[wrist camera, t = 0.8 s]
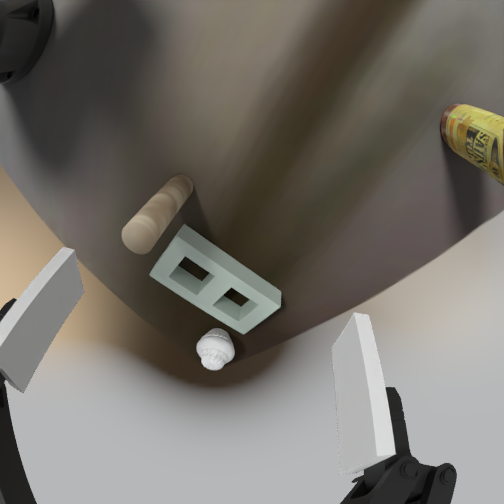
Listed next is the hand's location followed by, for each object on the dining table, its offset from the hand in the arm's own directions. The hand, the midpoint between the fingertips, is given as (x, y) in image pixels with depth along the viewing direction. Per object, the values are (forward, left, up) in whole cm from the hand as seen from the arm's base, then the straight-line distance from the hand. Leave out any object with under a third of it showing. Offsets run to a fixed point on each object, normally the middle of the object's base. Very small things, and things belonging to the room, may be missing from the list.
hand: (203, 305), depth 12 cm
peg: (-5, -7, -21) cm, 23 cm away
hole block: (+6, -15, -21) cm, 27 cm away
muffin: (+13, -25, -22) cm, 36 cm away
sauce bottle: (+14, +21, -22) cm, 33 cm away
